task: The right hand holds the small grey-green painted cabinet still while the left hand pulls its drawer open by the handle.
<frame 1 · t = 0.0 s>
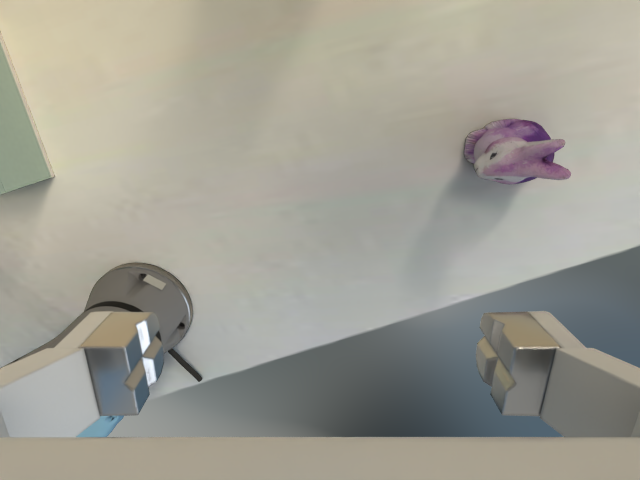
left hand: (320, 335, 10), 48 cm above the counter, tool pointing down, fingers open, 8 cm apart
figurine: (495, 150, 56), on the counter
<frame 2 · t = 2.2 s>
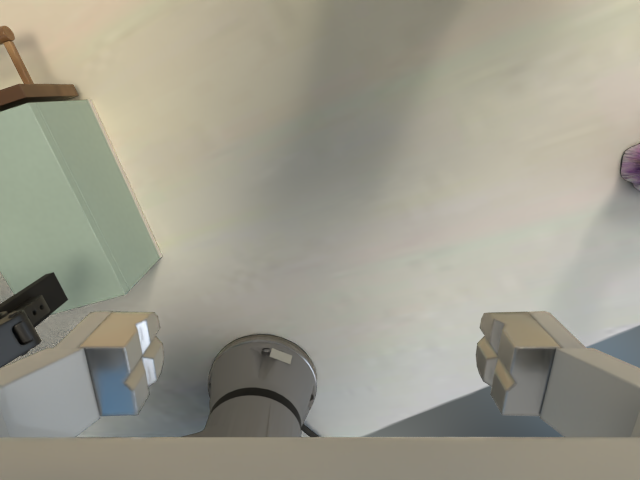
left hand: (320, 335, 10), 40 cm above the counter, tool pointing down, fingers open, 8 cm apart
cabinet: (87, 195, 50), on the counter
drawer: (37, 161, 43), point 5 cm above the counter, slide at 0.6 cm
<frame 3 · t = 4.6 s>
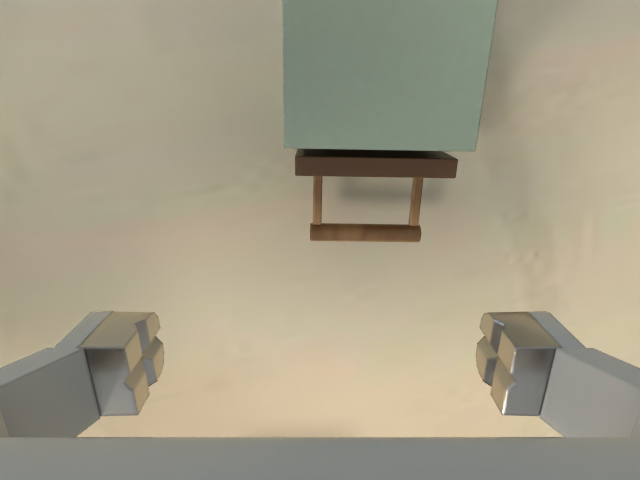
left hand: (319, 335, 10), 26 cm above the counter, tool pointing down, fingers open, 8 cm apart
drawer: (373, 67, 27), point 5 cm above the counter, slide at 0.6 cm
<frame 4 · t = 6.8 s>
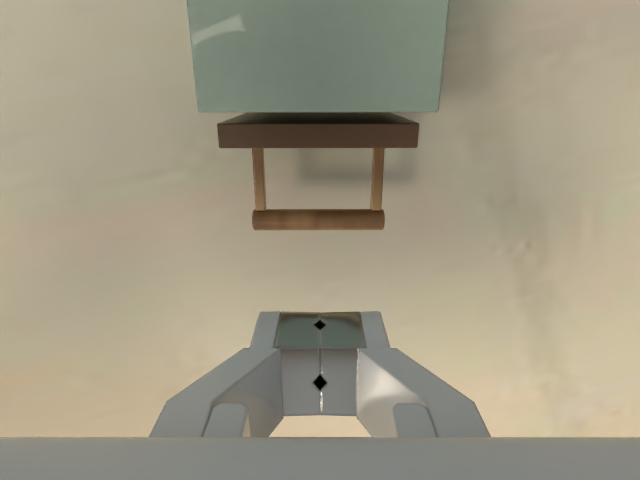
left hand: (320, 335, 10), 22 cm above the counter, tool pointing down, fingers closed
drawer: (317, 16, 22), point 5 cm above the counter, slide at 0.6 cm
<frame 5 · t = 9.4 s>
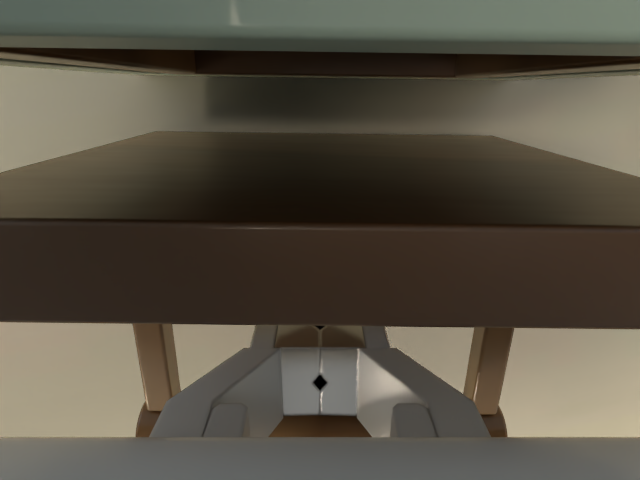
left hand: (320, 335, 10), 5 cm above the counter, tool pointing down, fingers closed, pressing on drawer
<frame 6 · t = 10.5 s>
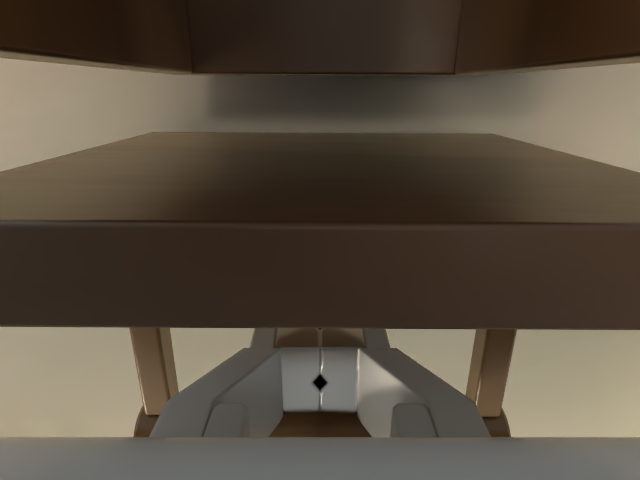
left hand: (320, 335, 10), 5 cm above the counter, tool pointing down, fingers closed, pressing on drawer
when the right hand's fingers open (6 cm above the counter, at t = 12.3 s): cabinet stays where it is, on the counter.
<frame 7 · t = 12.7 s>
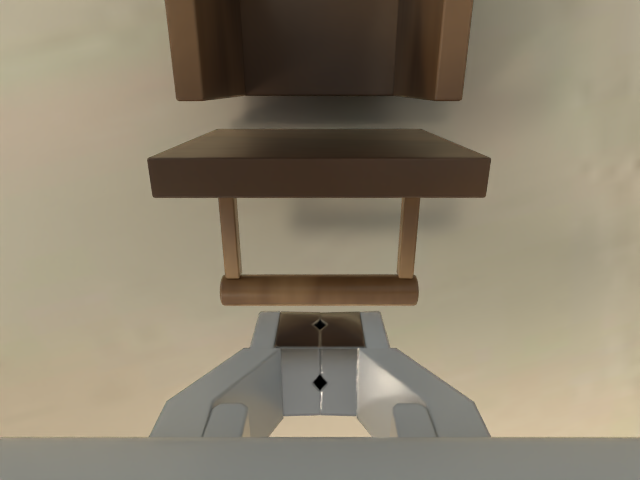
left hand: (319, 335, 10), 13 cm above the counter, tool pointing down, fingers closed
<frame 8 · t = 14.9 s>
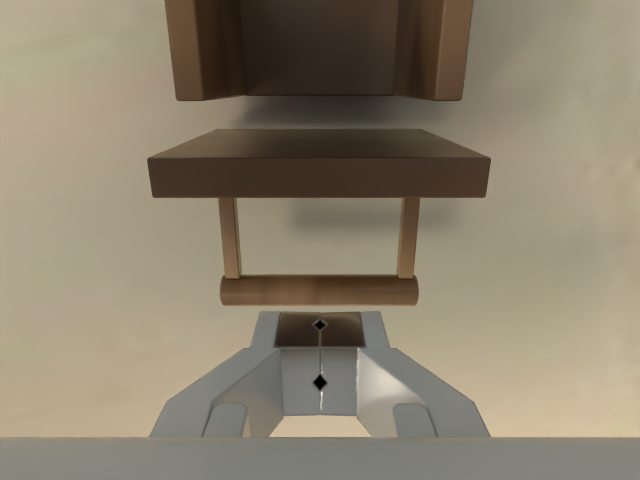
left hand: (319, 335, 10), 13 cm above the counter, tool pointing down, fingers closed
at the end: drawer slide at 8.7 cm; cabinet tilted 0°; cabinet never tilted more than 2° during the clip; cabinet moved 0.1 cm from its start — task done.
